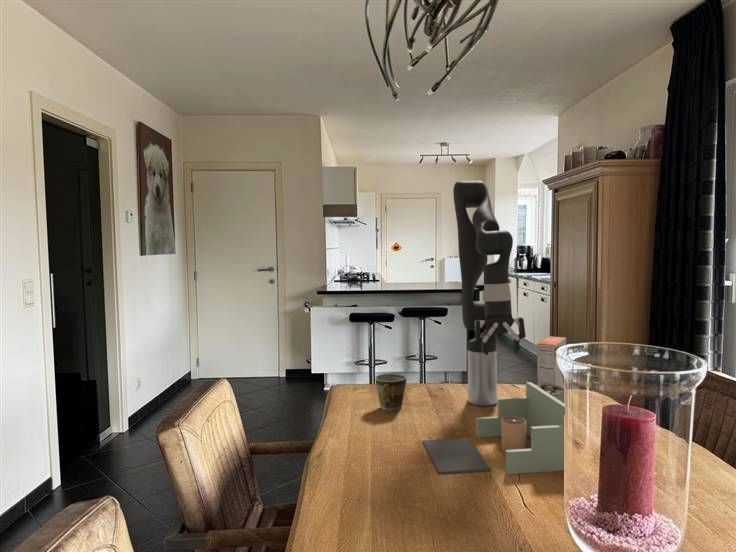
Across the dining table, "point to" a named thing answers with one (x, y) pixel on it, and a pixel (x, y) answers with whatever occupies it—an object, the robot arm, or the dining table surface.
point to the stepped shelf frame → (531, 431)
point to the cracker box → (549, 361)
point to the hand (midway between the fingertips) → (500, 353)
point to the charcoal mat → (455, 456)
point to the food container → (554, 391)
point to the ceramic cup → (390, 391)
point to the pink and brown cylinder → (513, 433)
